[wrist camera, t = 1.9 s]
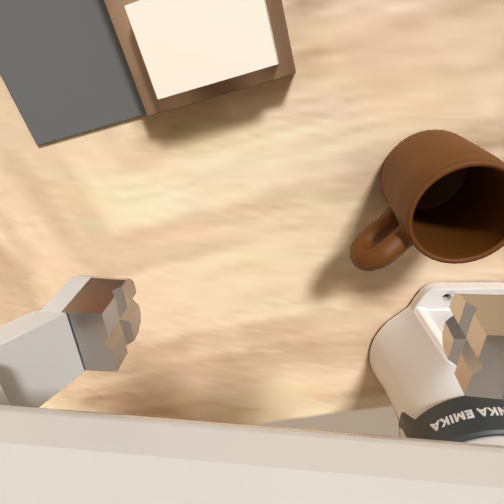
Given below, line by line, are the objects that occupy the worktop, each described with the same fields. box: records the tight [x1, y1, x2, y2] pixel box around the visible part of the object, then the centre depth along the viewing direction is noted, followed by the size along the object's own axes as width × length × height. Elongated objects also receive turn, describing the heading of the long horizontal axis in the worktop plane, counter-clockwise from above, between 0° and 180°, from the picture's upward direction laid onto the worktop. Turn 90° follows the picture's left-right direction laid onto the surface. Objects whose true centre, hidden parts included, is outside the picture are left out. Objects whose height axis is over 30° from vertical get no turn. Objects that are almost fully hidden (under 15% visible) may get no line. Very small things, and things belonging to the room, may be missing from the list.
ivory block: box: [124, 0, 279, 99], centre depth 27 cm, size 9×6×2 cm, turn 105°
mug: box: [350, 130, 504, 271], centre depth 30 cm, size 12×8×9 cm, turn 129°
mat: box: [0, 0, 147, 145], centre depth 30 cm, size 12×18×1 cm, turn 15°
